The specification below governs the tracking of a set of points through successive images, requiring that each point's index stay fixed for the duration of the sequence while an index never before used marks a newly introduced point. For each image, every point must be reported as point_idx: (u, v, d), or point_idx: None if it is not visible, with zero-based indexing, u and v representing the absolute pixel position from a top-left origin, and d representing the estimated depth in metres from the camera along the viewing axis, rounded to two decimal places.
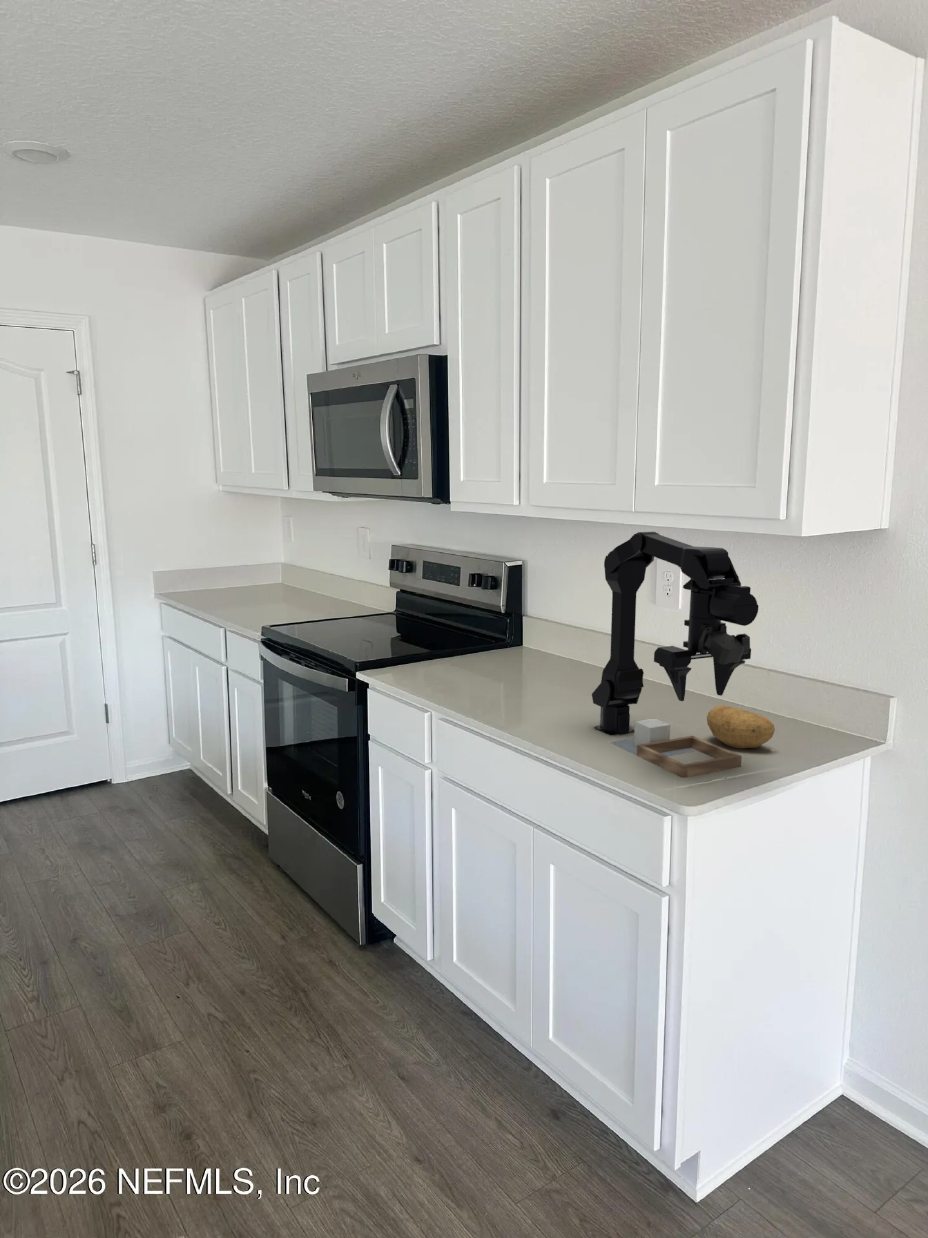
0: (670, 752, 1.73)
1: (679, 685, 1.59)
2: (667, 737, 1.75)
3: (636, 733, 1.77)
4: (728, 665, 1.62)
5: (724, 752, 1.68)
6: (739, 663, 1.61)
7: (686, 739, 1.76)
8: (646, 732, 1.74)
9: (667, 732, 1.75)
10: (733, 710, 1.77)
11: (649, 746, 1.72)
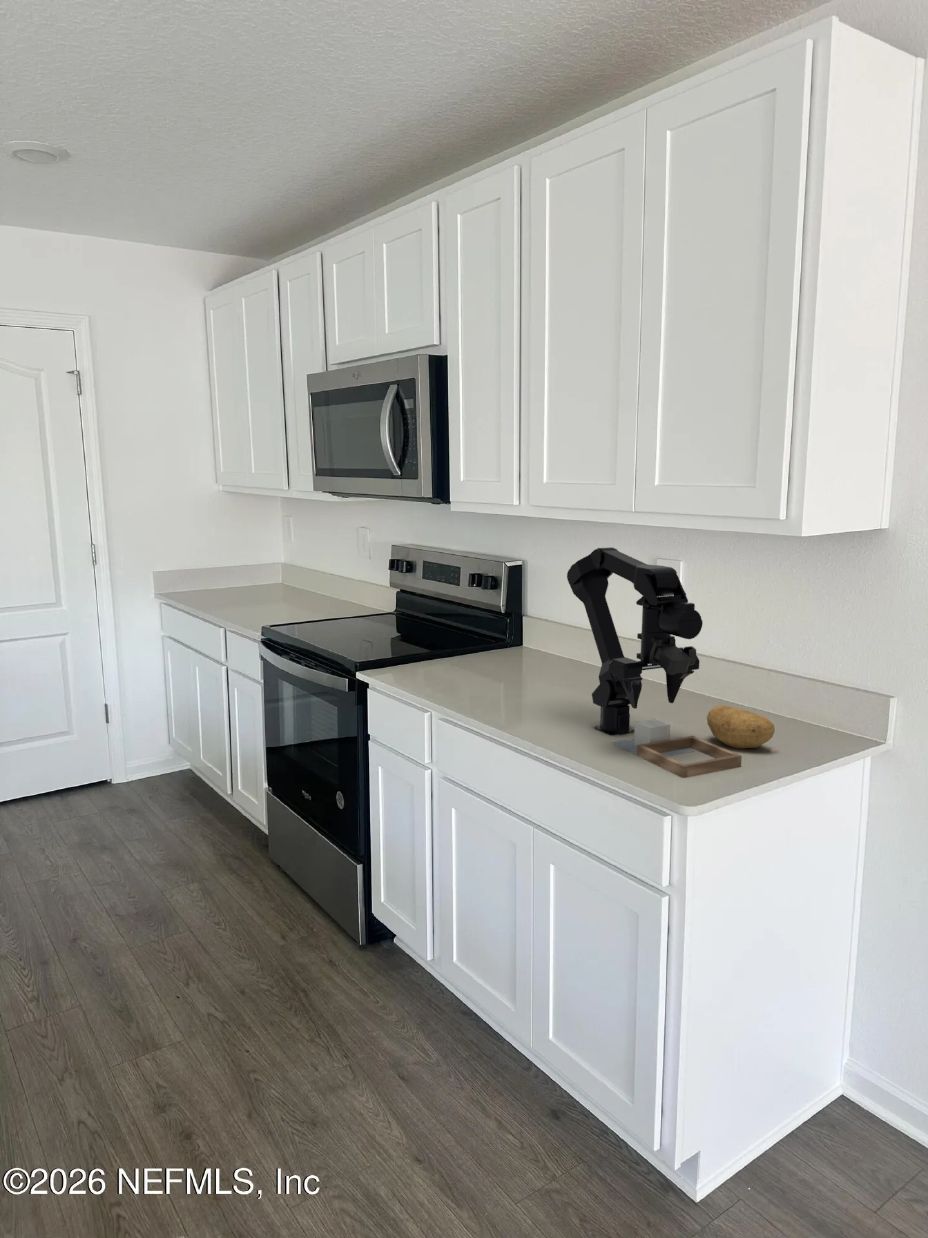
0: (670, 752, 1.73)
1: (632, 694, 1.72)
2: (667, 737, 1.75)
3: (636, 733, 1.77)
4: (678, 675, 1.75)
5: (724, 752, 1.68)
6: (688, 673, 1.75)
7: (686, 739, 1.76)
8: (646, 732, 1.74)
9: (667, 732, 1.75)
10: (733, 710, 1.77)
11: (649, 746, 1.72)
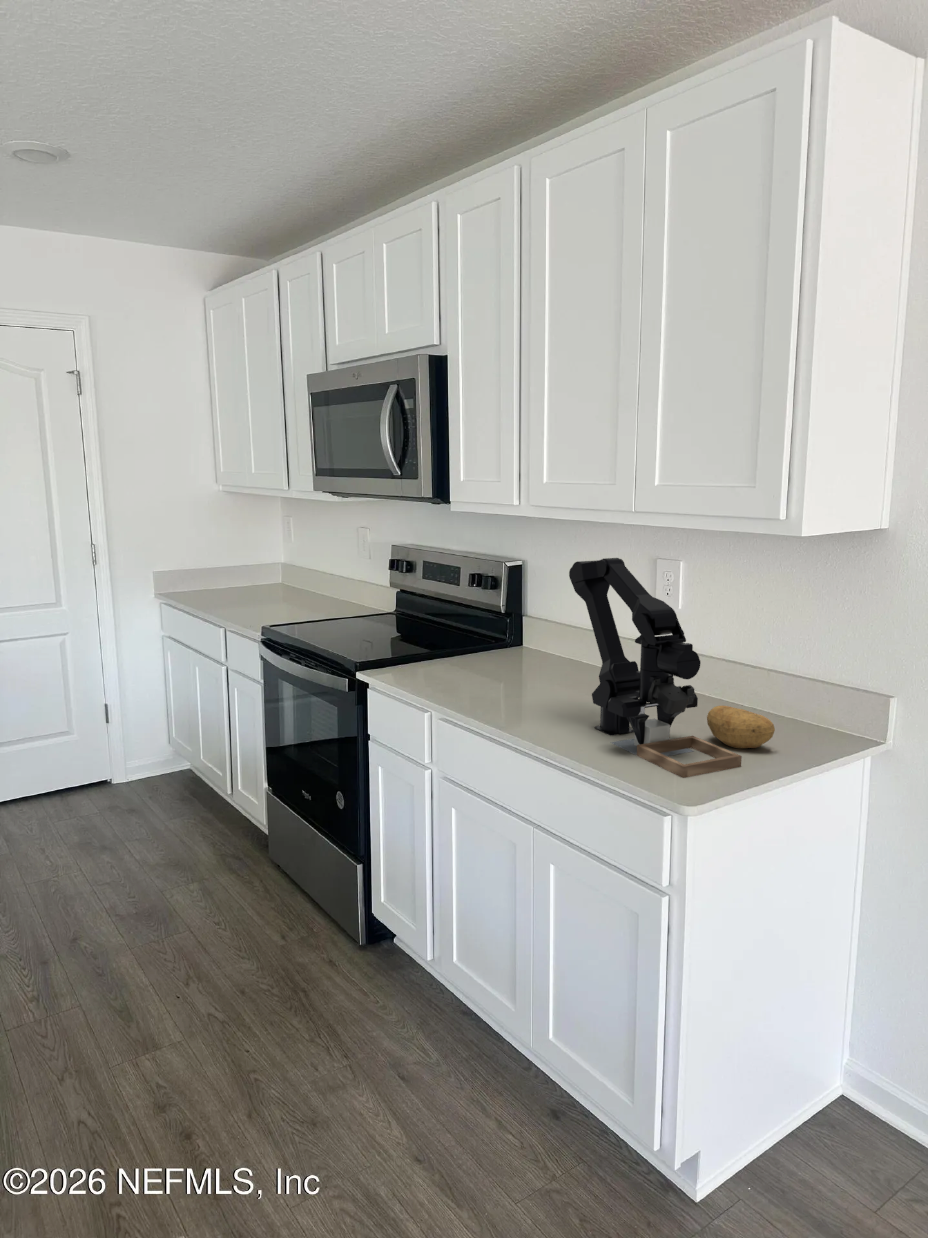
0: (670, 752, 1.73)
1: (639, 731, 1.74)
2: (667, 737, 1.75)
3: None
4: (669, 714, 1.76)
5: (724, 752, 1.68)
6: (679, 712, 1.75)
7: (686, 739, 1.76)
8: (646, 732, 1.74)
9: (667, 732, 1.75)
10: (733, 710, 1.77)
11: (649, 746, 1.72)
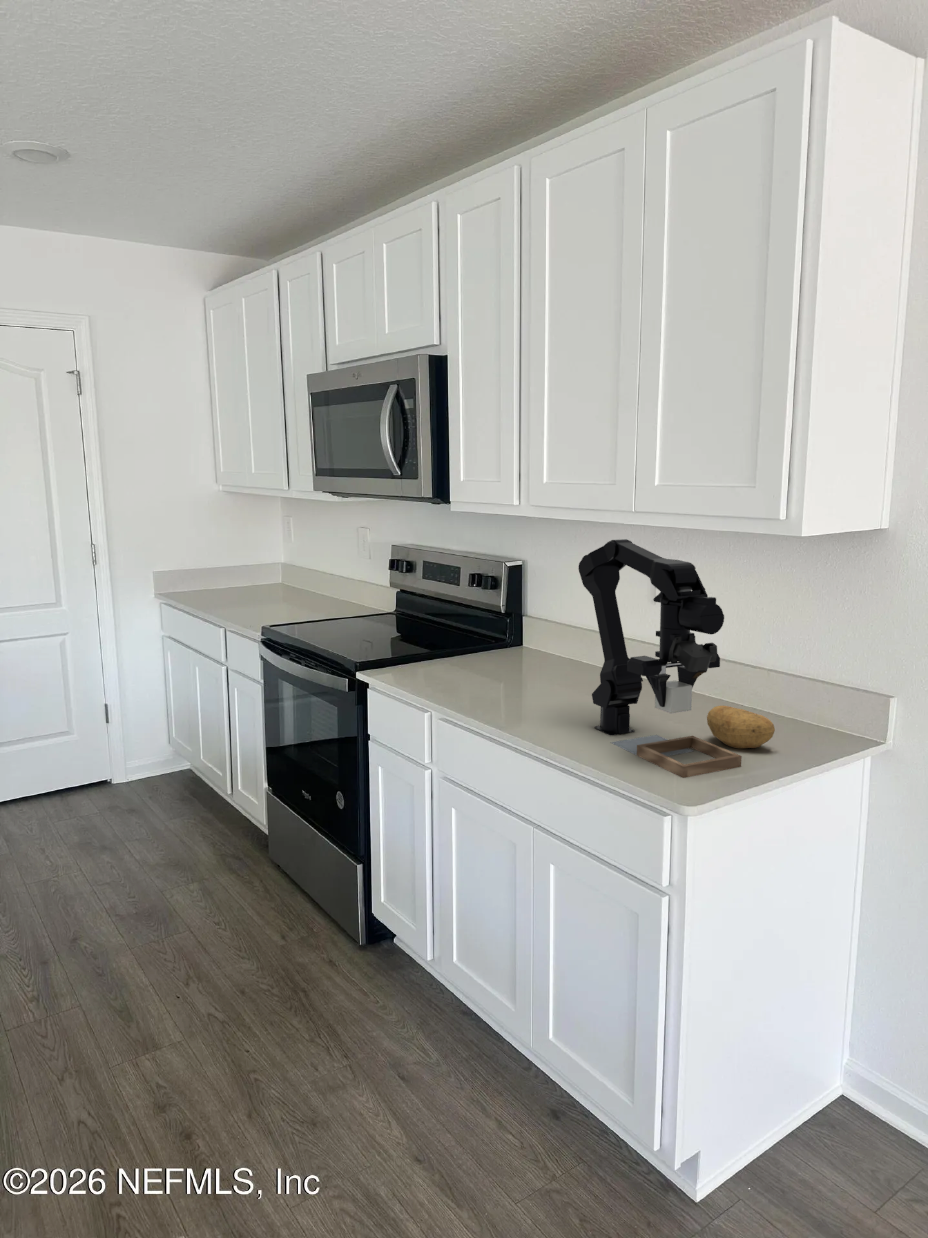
0: (670, 752, 1.73)
1: (660, 692, 1.68)
2: (689, 698, 1.69)
3: None
4: (691, 674, 1.70)
5: (724, 752, 1.68)
6: (701, 672, 1.69)
7: (686, 739, 1.76)
8: (667, 693, 1.68)
9: (688, 692, 1.69)
10: (733, 710, 1.77)
11: (649, 746, 1.72)
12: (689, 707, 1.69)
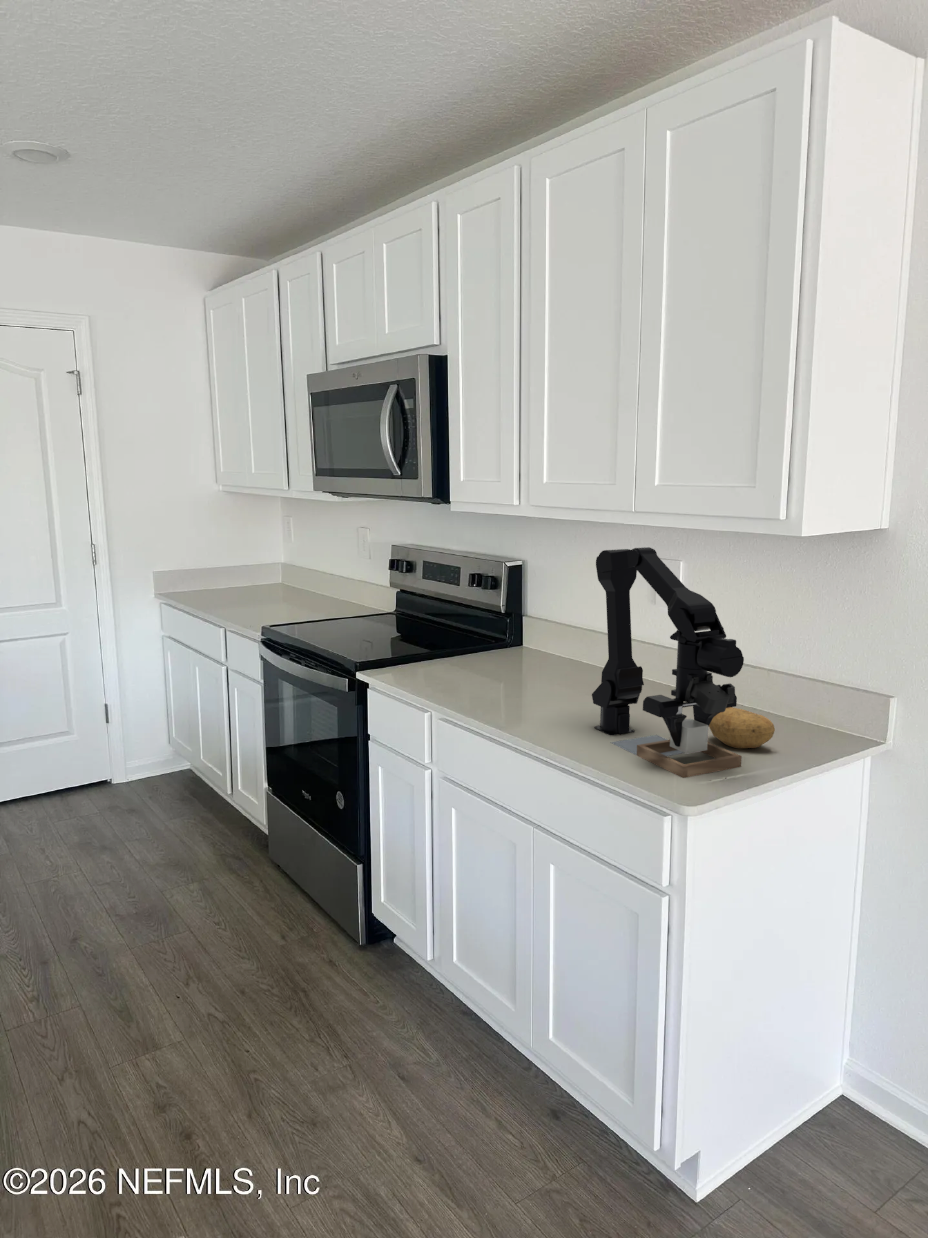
0: (670, 752, 1.73)
1: (675, 731, 1.65)
2: (705, 738, 1.66)
3: None
4: (707, 714, 1.67)
5: (724, 752, 1.68)
6: (717, 712, 1.66)
7: None
8: (683, 733, 1.65)
9: (705, 732, 1.66)
10: (733, 710, 1.77)
11: (649, 746, 1.72)
12: (705, 747, 1.67)
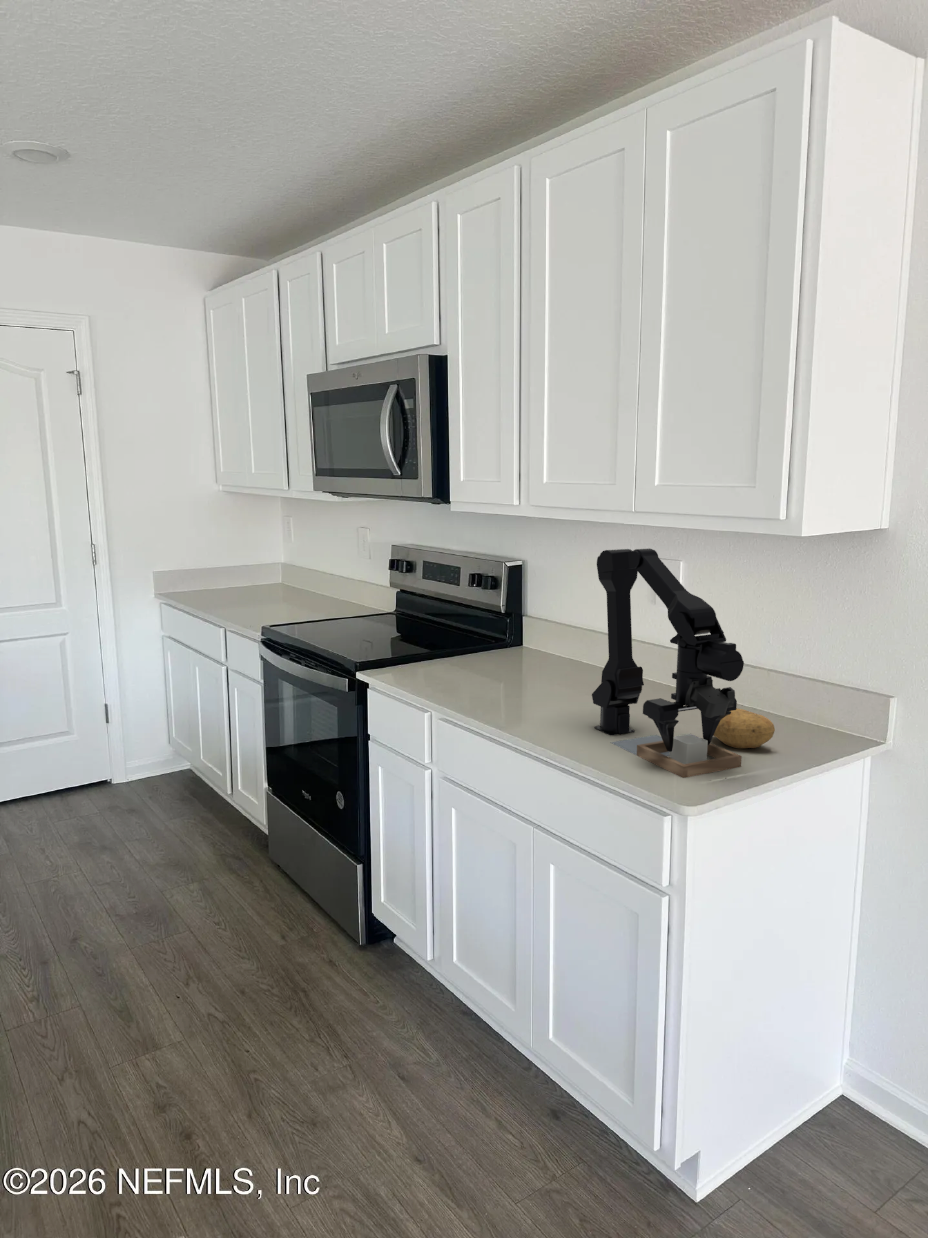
0: None
1: (667, 736, 1.65)
2: (705, 753, 1.67)
3: None
4: (715, 716, 1.68)
5: (724, 752, 1.68)
6: (725, 714, 1.67)
7: None
8: (683, 748, 1.66)
9: (704, 748, 1.67)
10: (733, 710, 1.77)
11: (649, 746, 1.72)
12: None
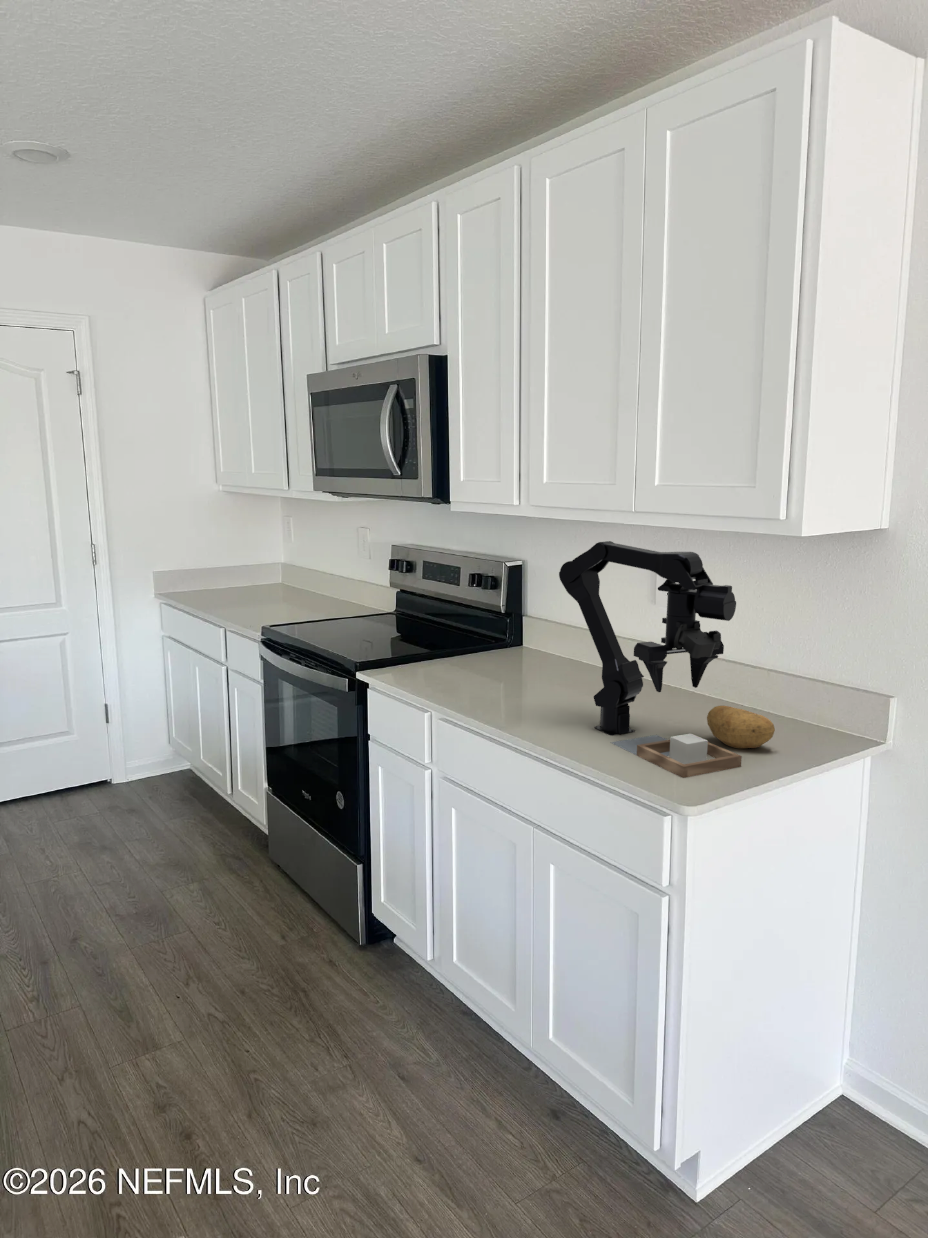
0: None
1: (656, 677, 1.74)
2: (705, 753, 1.67)
3: (671, 749, 1.69)
4: (702, 659, 1.77)
5: (724, 752, 1.68)
6: (712, 658, 1.76)
7: None
8: (683, 748, 1.66)
9: (704, 748, 1.67)
10: (733, 710, 1.77)
11: (649, 746, 1.72)
12: None
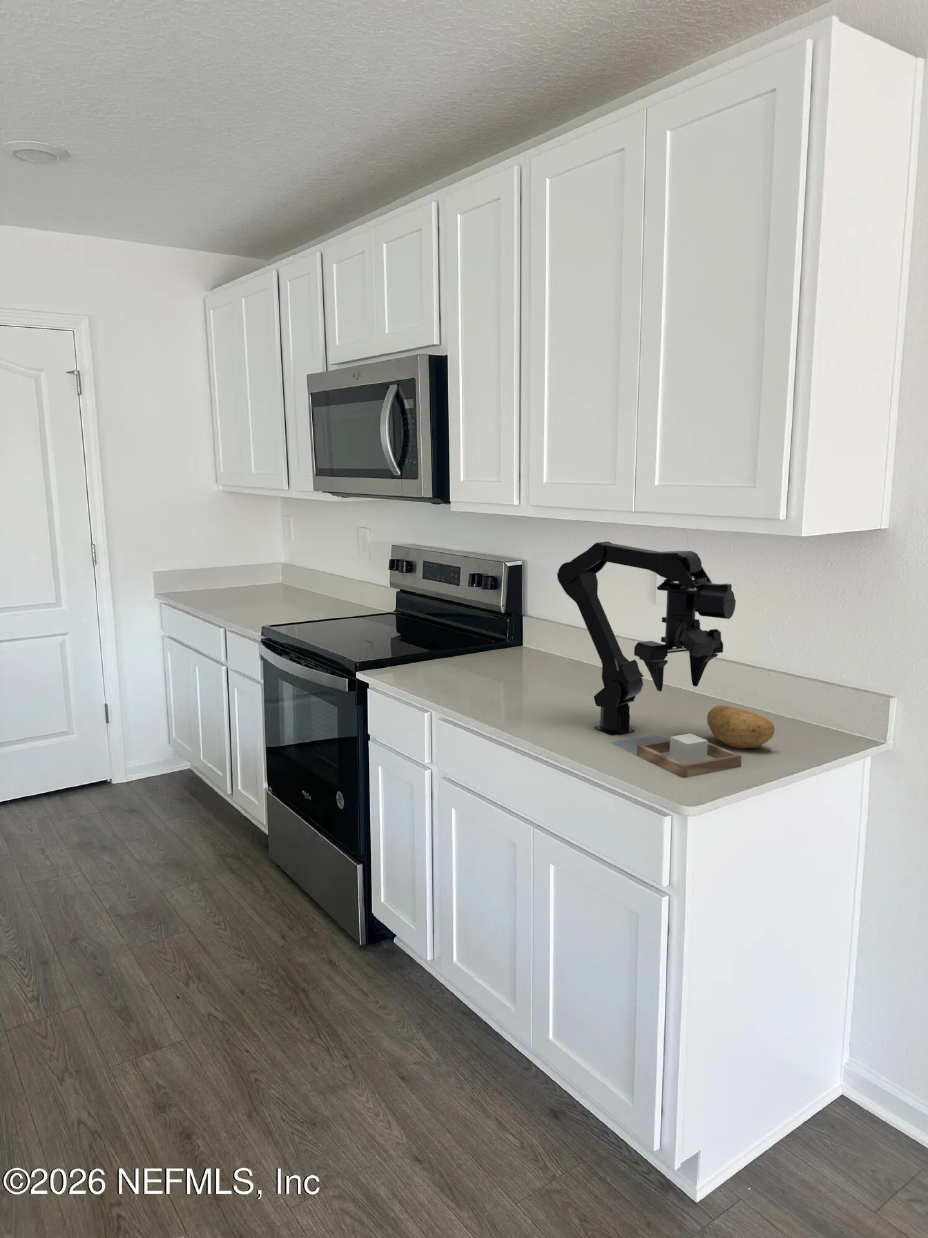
0: None
1: (657, 676, 1.74)
2: (705, 753, 1.67)
3: (671, 749, 1.69)
4: (702, 658, 1.77)
5: (724, 752, 1.68)
6: (712, 656, 1.77)
7: None
8: (683, 748, 1.66)
9: (704, 748, 1.67)
10: (733, 710, 1.77)
11: (649, 746, 1.72)
12: None
